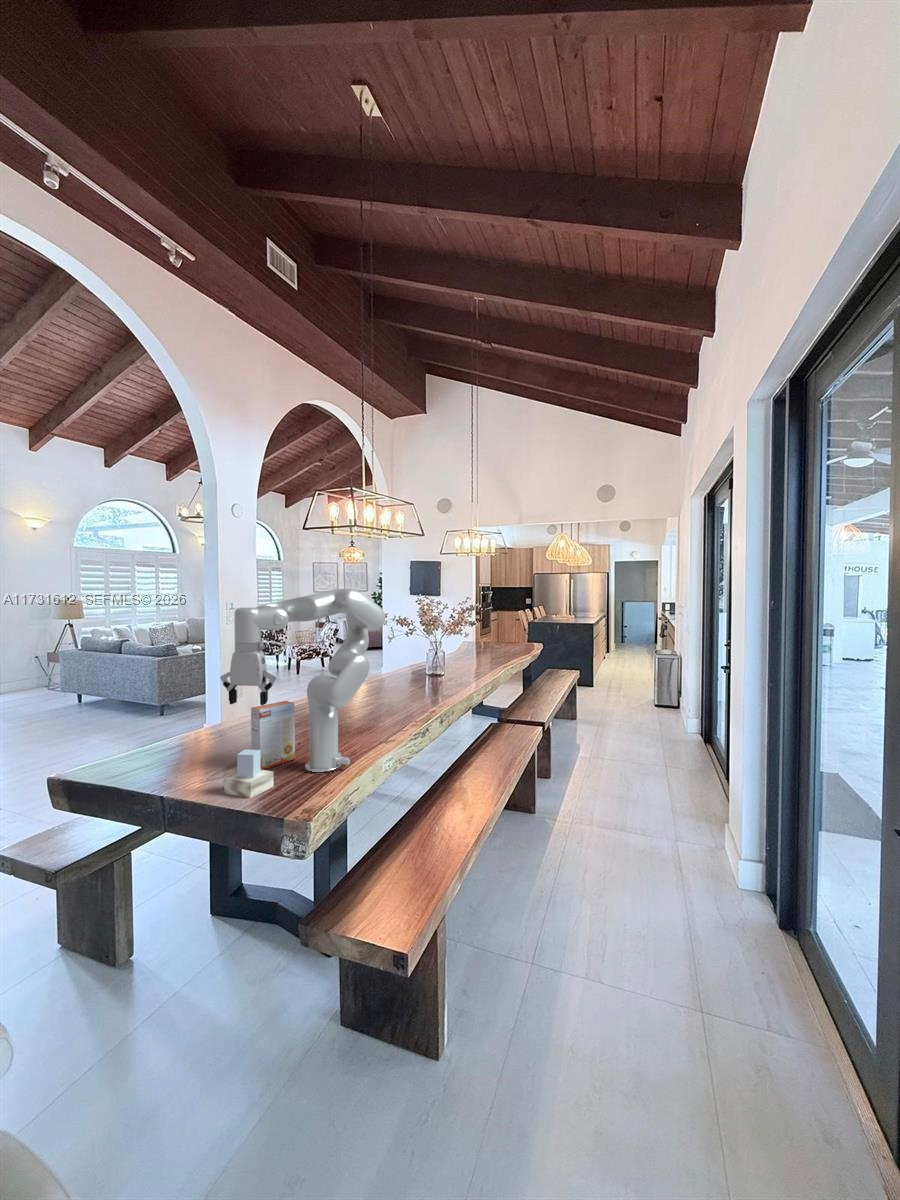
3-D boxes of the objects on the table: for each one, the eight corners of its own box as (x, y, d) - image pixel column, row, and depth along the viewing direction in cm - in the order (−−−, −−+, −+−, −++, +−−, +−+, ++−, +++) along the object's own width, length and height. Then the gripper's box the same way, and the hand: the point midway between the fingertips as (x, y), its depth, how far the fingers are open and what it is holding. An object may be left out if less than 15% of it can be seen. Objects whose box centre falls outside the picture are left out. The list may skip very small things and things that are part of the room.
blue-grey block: (260, 772, 166) (260, 749, 166) (253, 778, 161) (253, 754, 161) (244, 771, 166) (244, 749, 166) (237, 777, 161) (237, 754, 161)
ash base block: (273, 787, 167) (273, 771, 167) (250, 799, 158) (250, 782, 157) (248, 782, 170) (248, 767, 170) (224, 794, 161) (224, 777, 161)
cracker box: (285, 757, 195) (285, 700, 195) (295, 760, 192) (295, 702, 191) (250, 766, 185) (250, 706, 184) (260, 770, 181) (259, 709, 180)
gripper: (280, 647, 166) (280, 701, 167) (227, 646, 168) (227, 700, 168) (269, 649, 159) (270, 707, 159) (214, 649, 160) (214, 705, 161)
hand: (248, 703), depth 164 cm, fingers open, 9 cm apart
